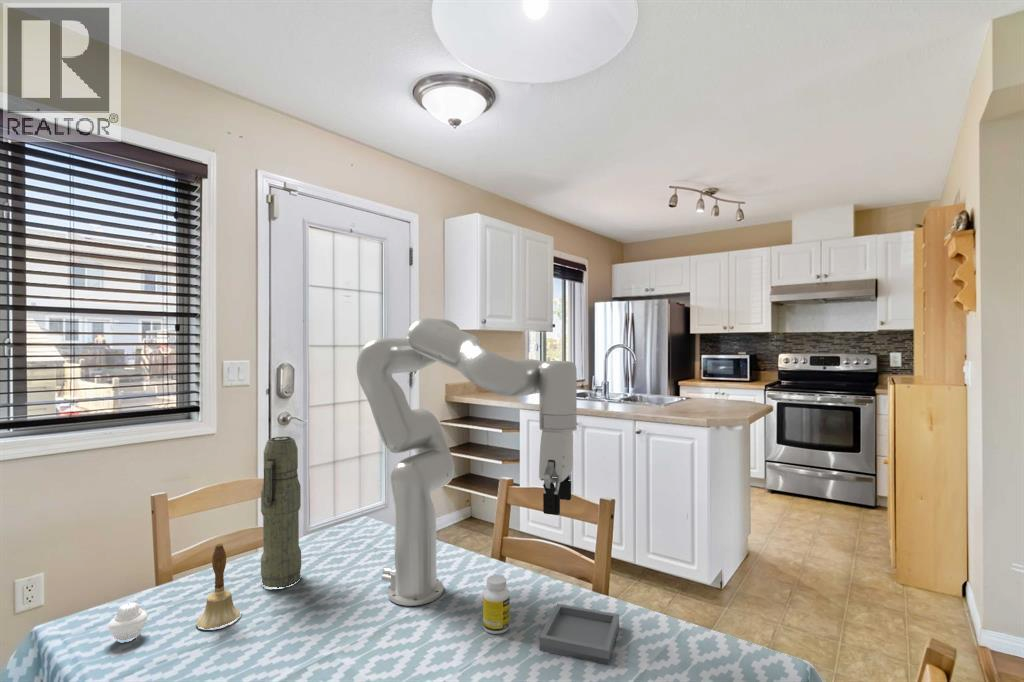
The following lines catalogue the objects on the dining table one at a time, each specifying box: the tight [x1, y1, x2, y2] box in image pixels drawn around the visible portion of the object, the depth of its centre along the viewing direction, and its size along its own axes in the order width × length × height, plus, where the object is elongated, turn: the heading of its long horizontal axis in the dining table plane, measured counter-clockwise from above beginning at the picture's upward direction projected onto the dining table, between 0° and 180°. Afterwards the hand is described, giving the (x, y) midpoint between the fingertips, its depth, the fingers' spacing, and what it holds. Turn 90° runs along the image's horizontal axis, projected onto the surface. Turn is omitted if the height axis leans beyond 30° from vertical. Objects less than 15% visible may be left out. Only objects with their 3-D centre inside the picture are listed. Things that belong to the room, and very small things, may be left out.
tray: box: [538, 603, 620, 666], centre depth 99 cm, size 13×13×2 cm
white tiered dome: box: [108, 602, 149, 641], centre depth 100 cm, size 6×6×7 cm
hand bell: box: [196, 543, 241, 629], centre depth 106 cm, size 8×8×16 cm
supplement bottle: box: [482, 574, 511, 635], centre depth 103 cm, size 5×5×10 cm
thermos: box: [260, 436, 302, 588], centre depth 124 cm, size 9×12×35 cm
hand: (557, 506), depth 102 cm, fingers open, 9 cm apart
